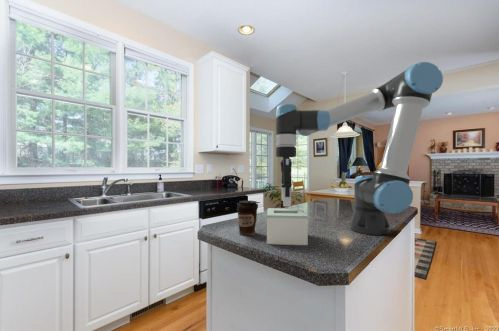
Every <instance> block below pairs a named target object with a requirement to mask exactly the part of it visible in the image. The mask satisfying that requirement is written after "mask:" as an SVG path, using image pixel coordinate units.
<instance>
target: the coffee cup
mask: <svg viewBox="0 0 499 331" xmlns="http://www.w3.org/2000/svg"><path fill="white" fill-rule="evenodd" d="M236 205H237V207H236V209H237V220H238V221H237V222H238V223H237V224H238V230H239V231H238V232H239V234H240V235H242V236H252V235H256V224H257V214H258V208H259V204H258V203H257V201H256V200H239V202H238V203H237V204H236Z"/></svg>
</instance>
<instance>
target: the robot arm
mask: <svg viewBox="0 0 499 331" xmlns="http://www.w3.org/2000/svg"><path fill="white" fill-rule="evenodd" d="M443 76H444V75H443V73H442V70H440V69H439V67H438V66H437V65H435V64H434V63H432V62H429V61H420V62H417V63H415V64H413V65H410V66H409V67H408V68H406V69H405V70H404V71H402V72H401V73H399V74H397V75H395V77H393V78H391V79H390V80H388V81H387V82H385V83H383V84H382V85H380V86H378V87H376V88H373V89H372V90H371V91H370V92H369V93H367V94H364V95H360V96H359V97H356V98H354V99H351V100H348V101H345V102H343V103H339V104H337V105H335V106H332V107H329V108H326V109H321V110H320V109H316V110H315V109H313V110H311V109H310V110H298V109H297V105H296V104H293V103H283V104H279V105H278V106H277V107H276V112H275V136H276V137H274V141H276V143H275V145H276V147H275V156H276V158H282V159H281V162H280V172H281V180H280V181H281V201H283V202H282V206H283V207H292V186H293V183H292V166H293V165H292V164H293V162H292V159H291V158H296V157H297V147H296V146H297V133H298V134H299V135H300V136H303V137H307V136H308V137H309V136H311V134H314V133H317V132H323V131H327V130H328V129H329V128H331V127H333V126H336V125H339V124H341V123H344V122H347V121H350V120H353V119H355V118H358V117H361V116H364V115H366V114H368V113H372V112H374V111H378V112H381V111H384V110H387V109H391V108H394V111H393V115H392V119H391V123H390V128H389V131H388V135H387V139H386V144H385V148H384V150H383V155H382V159H381V163H380V167H379V168H378V169H377V170H375V171H374V172H373V174H371V175H370V174H368V175H358V176H356V177H355V178H354V183H353V185H354V186H353V187H354V211H353V214H352V218H351V220H350V224H349V228H350V230H351V231H354V232H355V233H356V232H357V233H358V234H359V233H360V234H365V235H371V234H372V235H371V236H373V235H375V236H383V235H382V234H386V235H389V234H391V225H390V224H389V221H388V217H387V215H386V213H387V214H399V213H402V212H405V211H406V210H407V209H408V208H409V207H410V206H411V204H412V203H413V198H414V193H413V190H412V188H411V187H410V186H409V185H410V182H411V178H410V177H409V175H408V169H409V165H410V162H411V158H412V157H411V156H412V154H413V150H414V146H415V141H416V138H417V133H418V130H419V126H420V121H421V118H422V115H423V111H424V109H426V107H429V105H430V103H431V100H432V96H433V94H434V93H436V92H437V91H438V90H439V89H440V88H441V87H442V85H443V82H444V77H443Z"/></svg>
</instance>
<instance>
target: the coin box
mask: <svg viewBox="0 0 499 331" xmlns="http://www.w3.org/2000/svg"><path fill="white" fill-rule="evenodd" d="M308 218H309V215H308V214H307V213H306V212H305V210H304V209H303V208H282V207H281V208H279V207H278V208H276V207H275V208H272V207H269V208H267V210H266V244H267V245H286V246H308V245H309V242H308V241H309V239H308V238H309V233H308V232H309V229H308V228H309V225H308V224H309V219H308Z"/></svg>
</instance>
